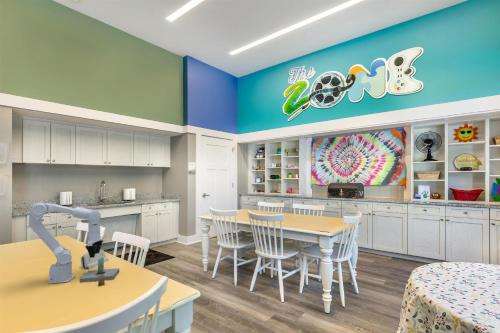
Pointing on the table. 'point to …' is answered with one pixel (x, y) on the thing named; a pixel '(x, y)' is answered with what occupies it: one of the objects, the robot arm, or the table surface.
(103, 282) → the short pin
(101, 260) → the long pin
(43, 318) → the table surface
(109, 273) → the hole plate
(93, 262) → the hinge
